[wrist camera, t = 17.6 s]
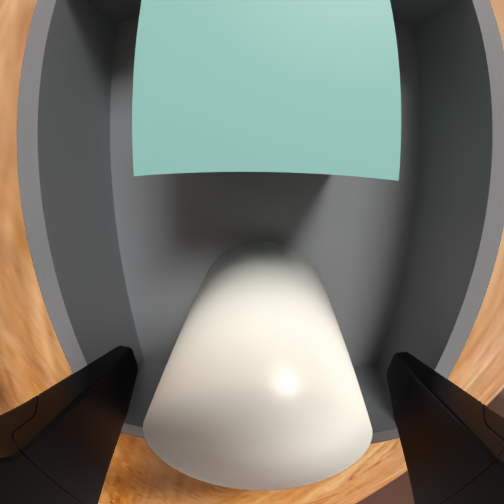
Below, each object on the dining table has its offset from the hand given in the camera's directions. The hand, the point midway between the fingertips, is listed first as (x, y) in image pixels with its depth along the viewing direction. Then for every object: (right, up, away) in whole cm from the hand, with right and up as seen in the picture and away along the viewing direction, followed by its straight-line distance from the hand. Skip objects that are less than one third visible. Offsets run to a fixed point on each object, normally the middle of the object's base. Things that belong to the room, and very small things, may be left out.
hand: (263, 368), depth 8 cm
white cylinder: (0, +1, +4) cm, 4 cm away
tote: (0, +5, +3) cm, 6 cm away
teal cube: (0, +9, +1) cm, 9 cm away
